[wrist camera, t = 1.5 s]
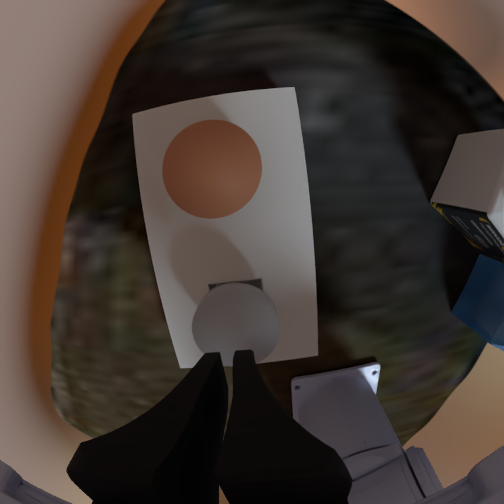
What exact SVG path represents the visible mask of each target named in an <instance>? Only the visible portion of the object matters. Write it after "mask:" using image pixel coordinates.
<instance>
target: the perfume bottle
mask: <svg viewBox="0 0 504 504" xmlns="http://www.w3.org/2000/svg"><path fill="white" fill-rule="evenodd" d="M451 313H452V314H453V315H455V316H456V317H457V318H458V319H460V320H461V321H462V322H463V323H465V324H466V325H467V326H469V327H470V328H471V329H472V330H474V331H475V332H476V333H477V334H479V335H480V336H481V337H482V338H483V339H485V340H486V341H487V342H488V343H489V344H491V345H494V346H495V347H497V348H499V349H501V350H503V351H504V264H503V263H501V262H498V261H496V260H494V259H491V258H489V257H487V256H484V255H482V254H479V256H478V259H477V261H476V263H475V266H474V268H473V270H472V272H471V274H470V276H469V279H468V281H467V283H466V285H465V287H464V289H463V291H462V293H461V294H460V296H459V298H458V300H457V302H456V304H455V306H454V308H453V309H452V311H451Z"/></svg>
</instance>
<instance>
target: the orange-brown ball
mask: <svg viewBox="0 0 504 504" xmlns="http://www.w3.org/2000/svg"><path fill="white" fill-rule="evenodd" d="M261 175H262V160H261V155H260V152H259V149H258V147H257V145H256V143H255V142H254V140H253V139H252V137H251V136H250V135H249V134H248V133H247V132H246V131H244V130H243V129H242V128H240V127H239V126H237V125H235V124H233V123H231V122H227V121H223V120H204V121H200V122H197V123H194V124H192V125H190V126H188V127H186V128H185V129H183V130H182V131H181V132H180V133H178V134H177V135H176V136H175V138H174V139H173V140H172V141H171V143H170V145H169V146H168V148H167V150H166V153H165V156H164V159H163V165H162V176H163V182H164V185H165V188H166V190H167V192H168V194H169V196H170V197H171V199H172V200H173V201H174V203H175V204H176V205H177V206H178V207H180V208H181V209H182V210H184V211H185V212H187V213H189V214H191V215H193V216H196V217H200V218H208V219H213V218H221V217H225V216H228V215H231V214H233V213H235V212H237V211H238V210H240V209H241V208H243V207H244V206H245V205H246V204H247V203H248V202H249V201H250V200H251V198H252V197H253V196H254V194H255V192H256V190H257V188H258V186H259V183H260V180H261Z"/></svg>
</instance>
